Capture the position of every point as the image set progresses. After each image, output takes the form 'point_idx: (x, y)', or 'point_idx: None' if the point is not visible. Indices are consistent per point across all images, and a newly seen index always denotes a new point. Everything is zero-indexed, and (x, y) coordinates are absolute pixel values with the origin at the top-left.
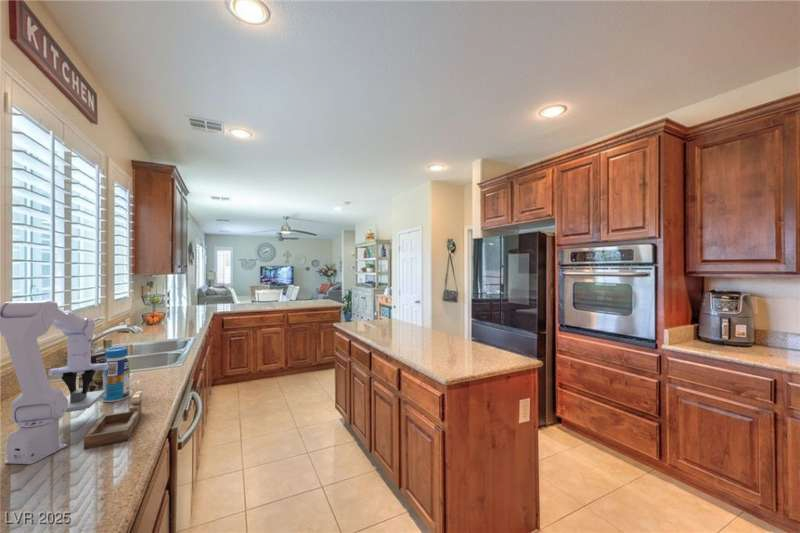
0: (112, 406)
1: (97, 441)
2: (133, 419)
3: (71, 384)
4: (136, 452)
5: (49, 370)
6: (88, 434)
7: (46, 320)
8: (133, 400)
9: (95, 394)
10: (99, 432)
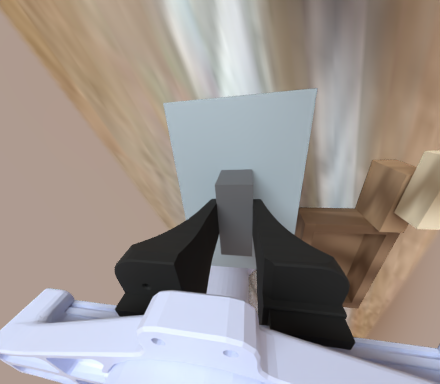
0: (304, 34)
1: None
2: (374, 276)
3: (209, 269)
4: (355, 316)
5: (27, 370)
6: None
7: None
8: (410, 221)
9: (282, 161)
10: None
